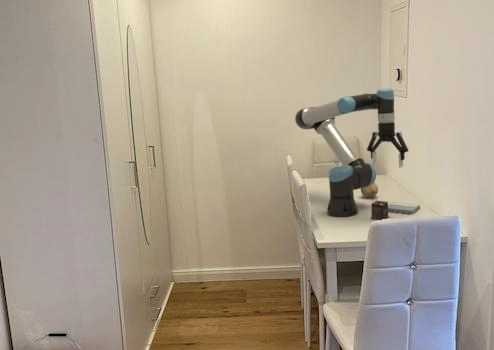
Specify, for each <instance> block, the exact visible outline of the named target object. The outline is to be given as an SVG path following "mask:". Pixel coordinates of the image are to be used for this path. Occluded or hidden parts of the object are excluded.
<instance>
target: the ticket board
mask: <svg viewBox="0 0 494 350" xmlns="http://www.w3.org/2000/svg"><path fill="white" fill-rule="evenodd" d="M420 209H421V205H420V204H415V203H413V204H412V203H404V202H391V203H388V213H392V214H393V213H395V214H398V213H399V214H401V213H402V214H401V215H408V214H409V215H408V216H411V215H412V214H413V215H414V214H416V212H418V211H420ZM410 214H411V215H410Z"/></svg>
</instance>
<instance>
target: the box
mask: <svg viewBox="0 0 494 350" xmlns="http://www.w3.org/2000/svg"><path fill="white" fill-rule="evenodd" d="M388 205H389V203H388V201H384V200H382V201H381V200H376V201H373V202H371V206H370V207H371V218H374V219H385V218H386V217H388V216H389V212H388ZM374 219H373V220H374Z"/></svg>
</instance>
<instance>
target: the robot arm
mask: <svg viewBox="0 0 494 350" xmlns="http://www.w3.org/2000/svg"><path fill="white" fill-rule="evenodd" d="M369 110H377V122H378V124H377V130H378V132H377V131H373V132H372V133H371V138H370V141H369V143H368V146H367V149H366V151H367V152H370V158H371V160H372V163H369V162H365V160H364V159H363V158H362V157H358V156H357V154H356V153H355V152H354V151H353V149H352V147H351V146H350V144H349V143H348V141H346V139H345V138H344V136H343V135H342V133H341V132H340V131H339V129H338V128H337V127H336V125H335V124H336V118H337V117H339V116H342V115H346V114H347V115H348V114H350V113H355V112H362V111H369ZM294 119H295V120H294V121H295V123H296V125H297V127H299V128H300V129H302V130H312V129H313V130H314V131H315V132H316V133H317V135H321V136H322V138H323V139H324V140H325V142H326V144H328V146H329V148H330V149H331V150H332V152H333V153H334V154H335V156H336V157H337V159H338V161H339V162H340V164H341V165H337V166H334V167H332V168H331V169H330V170H329V173H328V175H329V176H328V181H329V182H328V183H329V201H328V205H327V208H326V211H327V215H329V216H331V215H332V217H336V218H337V217H339V218H344V217H353V216H355V215H357V214H358V213H359V211H358V210H359V209H358V205H357V203H356V200H355V198H354V197H355V196H354V191H355V190H359V189H360V190H361V188H363V187H368V186H370V185H372V184H373V183H376V178H377V171H376V168H375V166H377V165H378V162H377V151H376V150H377V149H378V147H380V145H381V144H382V142H383V143H385V142H387V143H391V144H393V146H394V147H395V149H396V150H397V151H398V152H399V153H398V167H399V168H402V167H404V161H405V158H406V157H405V153H407V152H409V148H408V146H407V144H406V143H405V140H404V138H403V135H402V132H401V131H399V132H396V131H395V129H396V127H395V126H396V124H395V93H394V89H392V88H381V89H377V90H376V93H361V94H357V95H350V96H349V95H347V96H343V97H340V98H339V99H336V100H334V101H331V102H328V103H324V104H322V105H318V106H311V107H304V108H301V109H299V110H298V111H297V112H296V114H295V117H294ZM377 137H379V138H378V139H377ZM395 137H396V138H397V139H396V138H395ZM376 140H377V141H376Z"/></svg>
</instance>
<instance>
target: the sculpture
mask: <svg viewBox="0 0 494 350" xmlns="http://www.w3.org/2000/svg"><path fill="white" fill-rule="evenodd" d="M360 192H361V194H362V196H363V197H364V198H368V199H371V198H374V197H376V196H377V195H378V193H379V187H378V185H377V183H376V182H374V183H373V184H372V185H370V186H368V187H363V188H360Z"/></svg>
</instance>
